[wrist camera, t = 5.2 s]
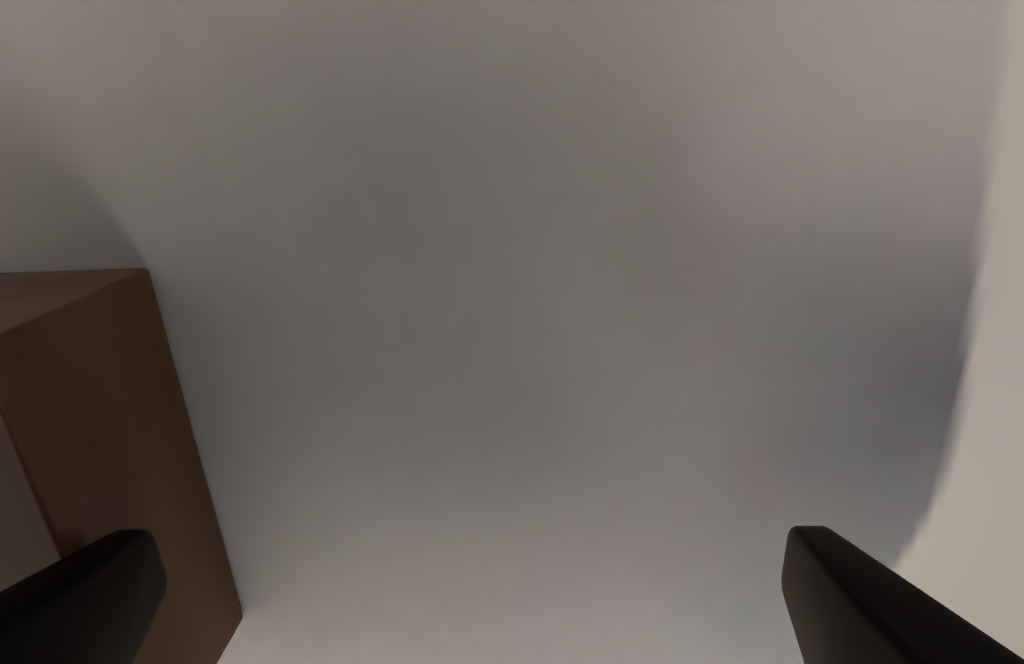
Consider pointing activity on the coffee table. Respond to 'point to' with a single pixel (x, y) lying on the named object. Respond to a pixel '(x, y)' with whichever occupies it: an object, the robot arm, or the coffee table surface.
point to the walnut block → (106, 448)
